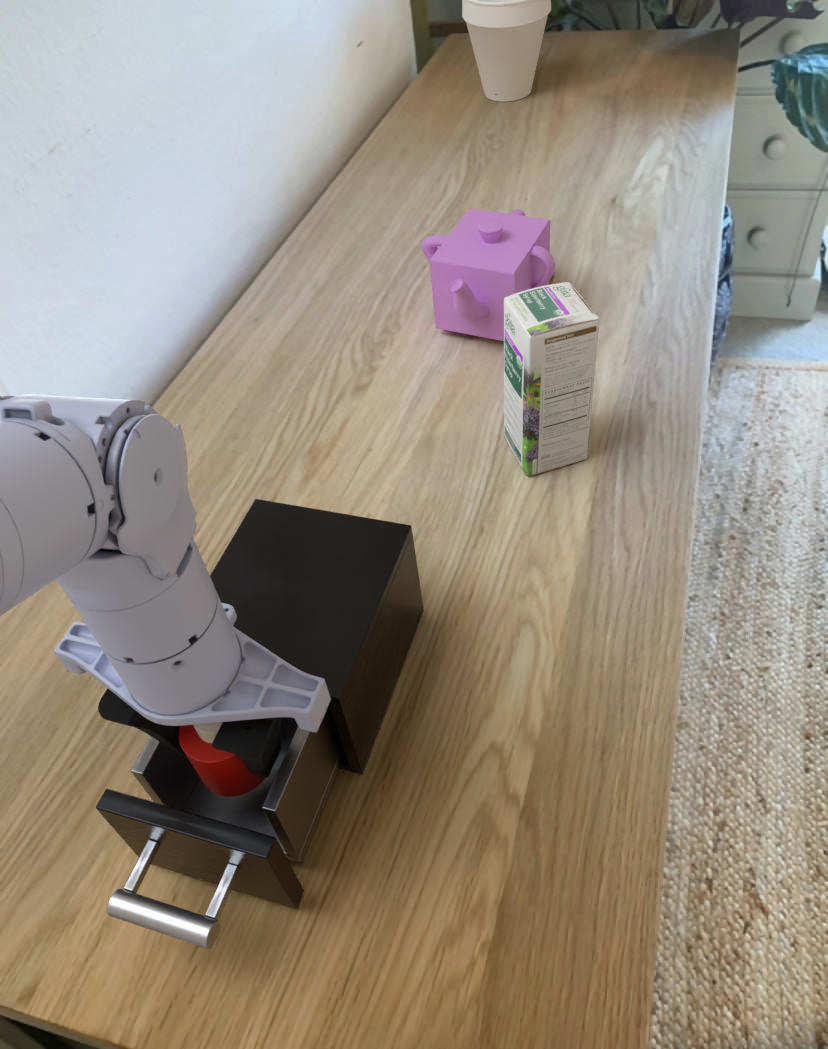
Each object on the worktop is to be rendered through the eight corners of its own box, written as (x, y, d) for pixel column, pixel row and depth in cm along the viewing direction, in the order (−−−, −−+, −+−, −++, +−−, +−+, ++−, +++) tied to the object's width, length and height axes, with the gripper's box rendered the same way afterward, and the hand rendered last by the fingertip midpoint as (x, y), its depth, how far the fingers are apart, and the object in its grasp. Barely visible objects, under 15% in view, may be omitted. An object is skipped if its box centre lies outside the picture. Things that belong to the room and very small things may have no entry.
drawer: (267, 987, 47) (231, 943, 41) (105, 931, 50) (50, 883, 44) (369, 722, 57) (351, 657, 51) (230, 689, 60) (199, 624, 54)
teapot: (518, 383, 81) (518, 290, 73) (387, 356, 85) (374, 266, 78) (577, 282, 91) (582, 191, 84) (457, 262, 96) (452, 175, 88)
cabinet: (362, 775, 56) (339, 698, 48) (205, 734, 59) (161, 657, 52) (424, 610, 64) (411, 524, 57) (283, 582, 67) (255, 498, 60)
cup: (543, 109, 121) (545, 1, 111) (458, 109, 123) (452, 4, 113) (554, 74, 128) (557, -30, 118) (474, 75, 131) (470, -27, 121)
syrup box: (501, 437, 76) (498, 295, 65) (563, 419, 77) (570, 276, 66) (526, 479, 72) (527, 336, 61) (591, 459, 73) (602, 315, 62)
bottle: (254, 805, 49) (230, 760, 45) (187, 786, 50) (157, 741, 46) (285, 737, 51) (264, 689, 47) (220, 721, 53) (194, 672, 49)
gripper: (332, 574, 40) (370, 719, 50) (72, 524, 44) (156, 667, 54) (271, 703, 36) (327, 833, 46) (-12, 634, 40) (97, 768, 50)
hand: (231, 751), depth 50 cm, fingers closed on bottle, 4 cm apart
